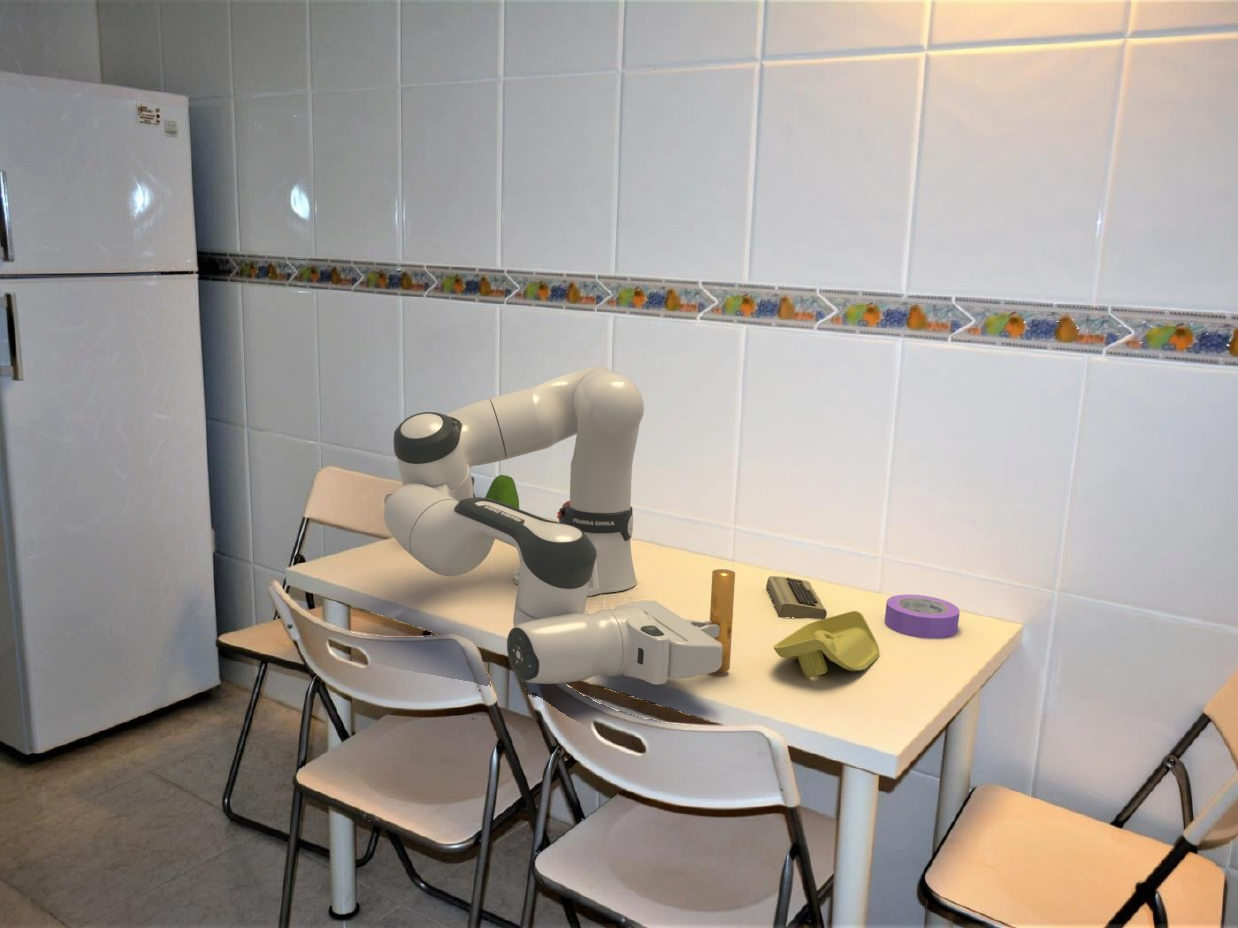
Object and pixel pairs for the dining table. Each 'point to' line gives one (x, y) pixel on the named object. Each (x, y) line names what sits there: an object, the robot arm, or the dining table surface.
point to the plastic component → (831, 644)
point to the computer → (795, 598)
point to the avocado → (504, 491)
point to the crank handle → (723, 610)
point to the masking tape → (922, 616)
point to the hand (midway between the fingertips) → (715, 628)
